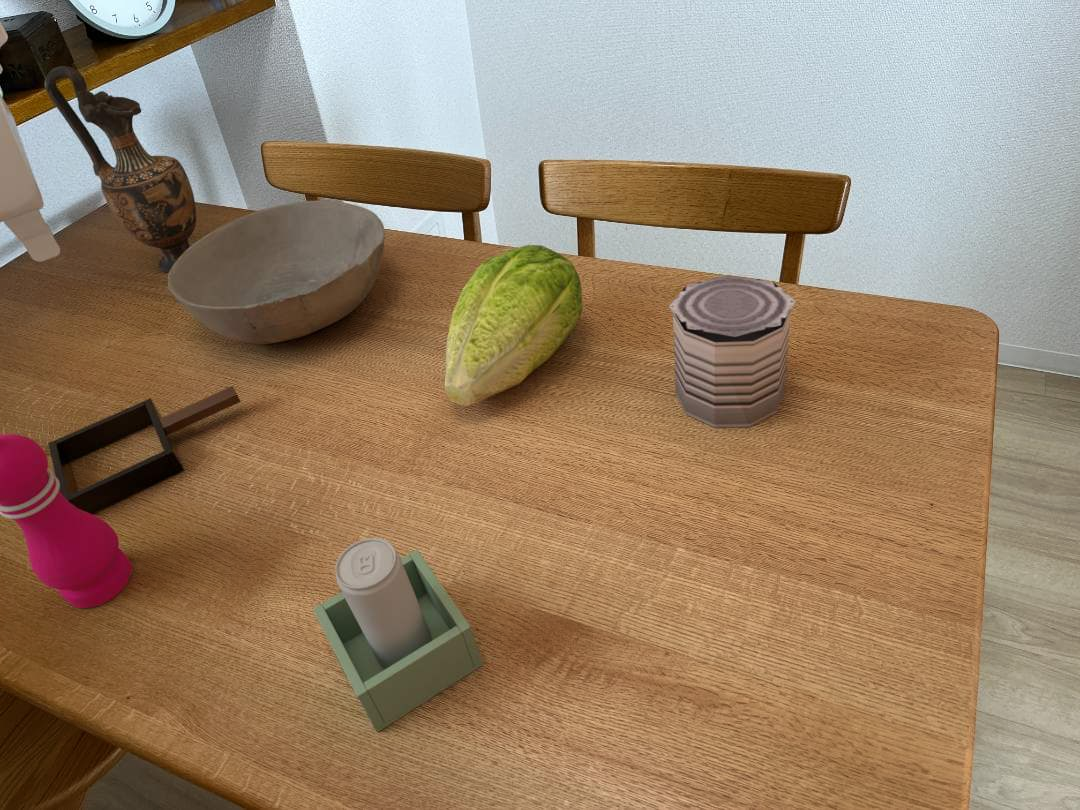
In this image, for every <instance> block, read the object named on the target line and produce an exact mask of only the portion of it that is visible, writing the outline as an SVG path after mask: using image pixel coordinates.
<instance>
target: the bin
mask: <svg viewBox="0 0 1080 810" xmlns="http://www.w3.org/2000/svg"><path fill="white" fill-rule="evenodd" d="M400 559H401V561H402V564H403V566H404V569H405V571H406V574H407V576H408V579H409V581H410V584H411V586H412V589H413V591H414V593H415V596H416V598H417V601H418V603H419V606H420V608H421V611H422V613H423V616H424V618H425V621H426V623H427V626H428V628H429V630H430V633H431V636H432V641H431V642H429V643H428V644H426V645H424V646H423V647H421V648H419V649H418V650H416V651H414V652H413V653H411V654H410V655H408V656H406V657H405V658H403V659H401V660H400V661H398V662H397V663H395V664H393V665H392V666H390V667H388V668H387V669H385V670H384V669H383V668H382V667H381V666H380V664H379V663H378V661H377V659H376V657H375V655H374V653H373V651H372V649H371V647H370V645H369V643H368V641H367V639H366V637H365V635H364V633H363V631H362V629H361V627H360V626H359V624H358V622H357V620H356V618H355V616H354V614H353V612H352V610H351V609H350V607H349V605H348V603H347V601H346V599H345V597H344V595H343V593H342V591H341V592H339V593H337V594H335V595H334V596H332V597H330V598H328V599H326V600H325V601H322V602H321V603H319V604H317V605H316V606H314V607H312V610H313V613H314V615H315V617H316V618H317V620H318V623H319V624H320V627H321V629H322V630H323V632H324V634H325V636H326V638H327V640H328V642H329V644H330V646H331V648H332V650H333V652H334V654H335V656H336V657H337V660H338V662H339V664H340V666H341V668H342V670H343V672H344V674H345V676H346V678H347V679H348V681H349V683H350V685H351V687H352V689H353V691H354V693H355V695H356V697H357V699H358V701H359V702H360V704H361V706H362V708H363V709H364V711H365V713H366V715H367V716H368V718H369V720H370V722H371V724H372V726H373V728H374V729H375V731H376V733H379V732H380V731H382V730H384V729H385V728H386V727H389V726H390V725H391V724H394V723H395V722H396V721H398V720H399V719H401V718H402V717H405V715H407V714H409V713H410V712H412V711H413V710H415V709H416V708H418V707H419V706H421V705H423V704H424V703H426V702H428V701H429V700H430V699H432V698H434V697H435V696H437V695H438V694H440V693H442V692H443V691H445V690H446V689H447V688H449V687H450V686H453V685H454V684H455V683H457V682H459V681H460V680H461V679H462V680H463V678H465V677H467V676H468V675H470V674H471V673H472V672H474V671H476V670H477V669H479V668H480V667H482V666H484V661H483V659H482V655H481V653H480V650H479V647H478V644H477V641H476V638H475V635H474V632H473V628H472V626H471V625H470V623H469V622H468V621H467V619H466V617H465V616H464V614H463V613H462V611H461V610H460V609H459V607H458V606H457V605H456V603H455V601H454V600H453V599H452V597H451V596H450V595H449V593H448V592H447V590H446V588H445V587H444V586H443V584H442V583H441V581H440V580H439V579H438V577H437V576H436V574H435V573H434V571H433V570H432V568H431V567H430V565H429V564H428V562H427V561H426V560H425V558H424V557H423V555H422V554H421V552H420V551H419V550H418V548H416V549H414V550H413V551H410V552H409V553H408V554H406V555H404V556H402V557H400Z"/></svg>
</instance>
